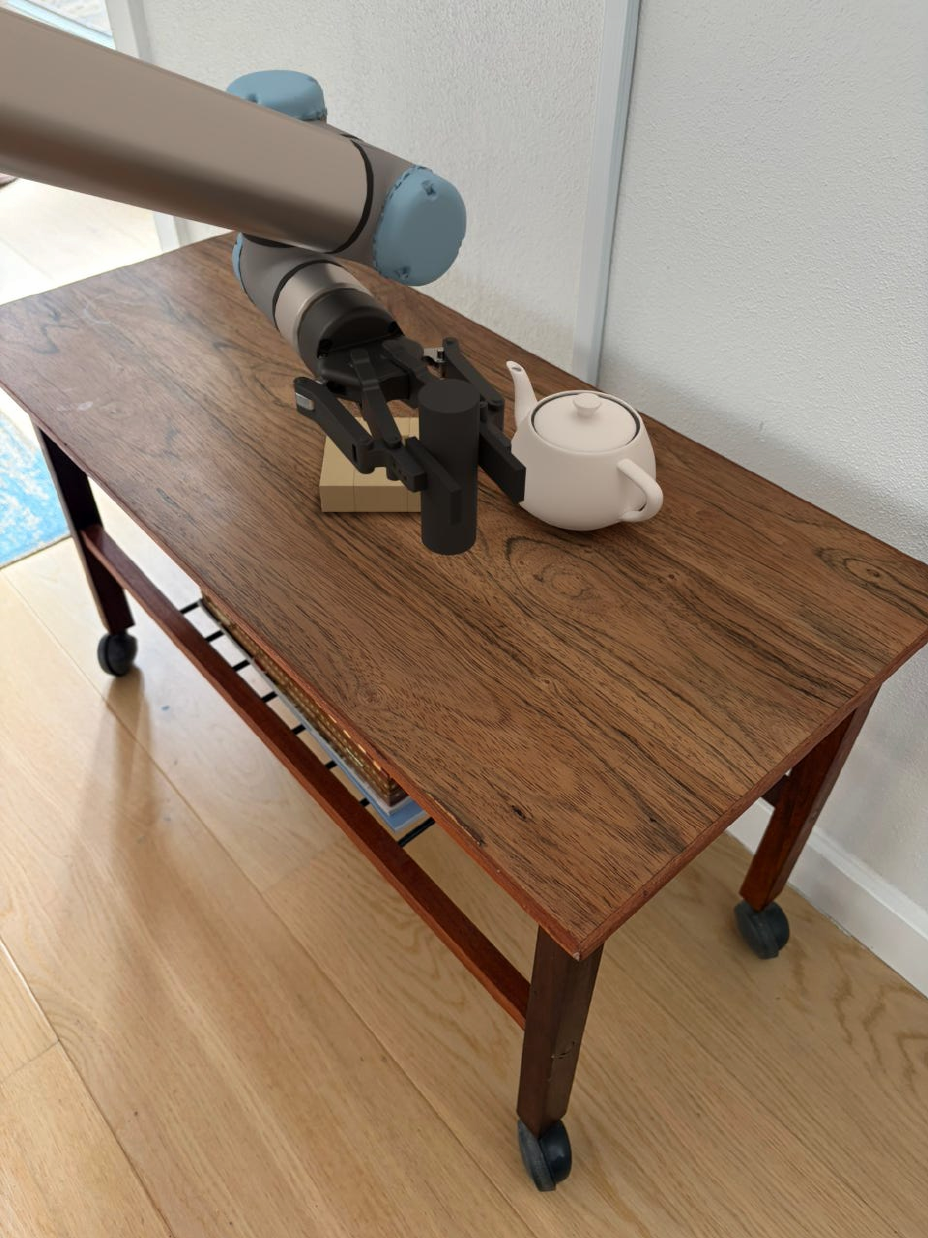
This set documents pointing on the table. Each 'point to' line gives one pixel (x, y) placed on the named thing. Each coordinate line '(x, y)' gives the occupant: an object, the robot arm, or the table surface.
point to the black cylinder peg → (451, 459)
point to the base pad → (365, 481)
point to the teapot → (583, 458)
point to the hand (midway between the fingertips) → (488, 496)
